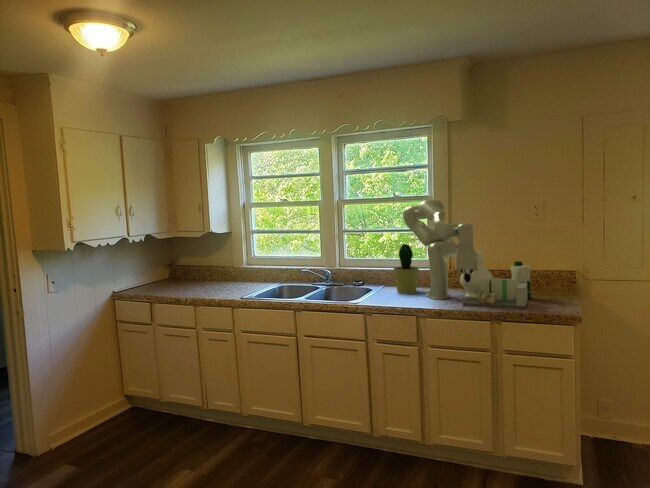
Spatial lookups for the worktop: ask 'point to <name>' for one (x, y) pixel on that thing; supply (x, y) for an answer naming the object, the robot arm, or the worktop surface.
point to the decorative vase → (476, 277)
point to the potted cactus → (406, 271)
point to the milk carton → (522, 275)
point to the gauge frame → (502, 294)
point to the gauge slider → (487, 297)
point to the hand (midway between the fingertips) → (467, 281)
